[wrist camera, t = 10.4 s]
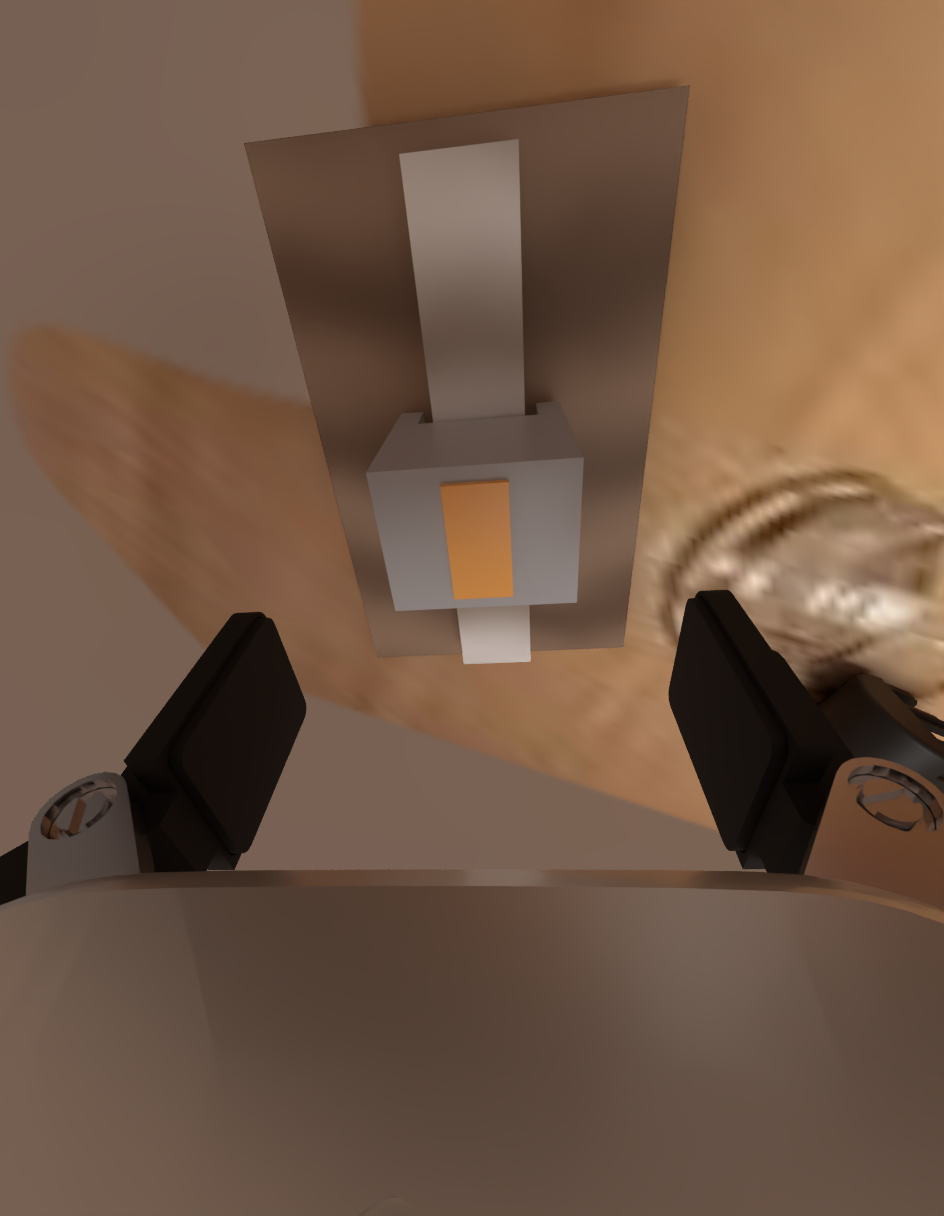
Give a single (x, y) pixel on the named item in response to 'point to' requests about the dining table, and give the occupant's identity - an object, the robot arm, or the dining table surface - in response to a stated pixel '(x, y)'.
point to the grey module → (479, 510)
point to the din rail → (564, 319)
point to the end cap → (886, 726)
